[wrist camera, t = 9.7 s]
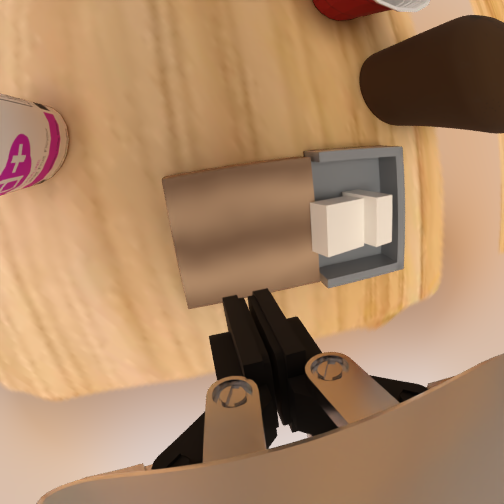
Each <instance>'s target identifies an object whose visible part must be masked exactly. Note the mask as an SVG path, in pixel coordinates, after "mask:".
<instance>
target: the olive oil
mask: <svg viewBox="0 0 504 504" xmlns="http://www.w3.org/2000/svg"><path fill="white" fill-rule="evenodd" d="M360 86H361V91H362V95H363V97H364V100H365V102H366V104H367V105H368V107H369V108H370V110H371V111H372V112H373V113H374V114H375V115H376V116H377V117H378V118H379V119H381V120H382V121H384V122H386V123H388V124H392V125H400V126H432V127H445V128H456V129H465V130H473V131H481V132H488V133H504V23H503V22H501V21H499V20H497V19H495V18H491V17H487V16H479V15H467V16H462V17H459V18H456V19H454V20H451V21H449V22H446V23H444V24H441V25H439V26H437V27H434V28H432V29H430V30H427V31H425V32H423V33H420V34H418V35H415V36H413V37H411V38H409V39H406V40H404V41H402V42H400V43H397V44H395V45H393V46H390V47H388V48H386V49H384V50H381V51H379V52H377V53H375V54H373V55H371V56H370V57H369V58H368V59H367V60H366V61H365V63H364V64H363V67H362V69H361V74H360Z"/></svg>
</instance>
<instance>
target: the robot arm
mask: <svg viewBox="0 0 504 504" xmlns="http://www.w3.org/2000/svg"><path fill="white" fill-rule="evenodd" d="M222 300H223V306H224V311H225V316H226V321H227V326H228V331H229V332H226V333H221V334H216V335H211V336H209V339H210V345H211V350H212V355H213V361H214V366H215V371H216V376H217V381H216V382H215V383H214V384H212V385H211V387H210V388H209V389H208V391H207V395H206V409H205V412H204V413H203V414H202V415H201V416H200V417H199V418H198V419H197V420H196V421H195V422H194V423H193V424H192V425H191V426H190V427H189V428H188V429H187V430H186V431H185V432H183V434H181V435H180V436H179V437H178V438H177V439H176V440H175V441H174V442H173V443H172V444H171V445H170V446H169V447H168V448H167V449H165V450H164V451H163V452H162V453H161V454H160V455H159V456H158V457H157V459H156V460H155V461H154V463H153V464H152V465H148V466H144V465H143V463H142V464H139V465H135V466H131V467H128V468H124V469H120V470H116V471H112V472H108V473H103V474H98V475H94V476H89V477H85V478H83V479H80V480H77V481H74V482H71V483H68V484H65V485H62V486H59V487H57V488H55V489H53V490H51V491H49V492H47V493H46V494H45V495H44V496H42V497H41V498H40V500H39V501H38V502H37V503H36V504H504V354H501V355H498V356H495V357H493V358H490V359H489V360H486V361H484V362H481V363H479V364H477V365H476V366H474V367H472V368H470V369H468V370H466V371H464V372H462V373H461V374H458V375H456V376H453V377H450V378H446V379H443V380H439V381H436V382H432V383H428V386H427V387H424V386H422V385H419V384H414V383H409V382H402V381H397V380H392V379H386V378H381V377H376V376H371V375H368V374H367V373H366V372H365V371H364V370H363V369H362V368H361V367H360V366H358V365H357V364H356V363H355V362H354V361H353V360H352V359H351V358H349V357H348V356H346V355H344V354H341V353H336V352H326V353H322V352H321V350H320V349H319V348H318V346H317V344H316V343H315V342H314V340H313V339H312V337H311V336H310V334H309V333H308V331H307V330H306V328H305V327H304V325H303V324H302V322H301V321H300V319H299V318H298V317H292V318H288V319H286V317H285V316H284V314H283V313H282V311H281V309H280V308H279V306H278V304H277V303H276V301H275V299H274V298H273V296H272V295H271V293H270V291H269V290H268V288H266V289H261V290H256V291H253V292H252V295H251V296H248V304H249V309H248V307H247V304H246V302H245V300H244V297H242V298H238V296H237V295H232V296H228V297H223V298H222ZM249 310H250V311H249ZM277 411H278V414H279V416H280V419H281V421H282V424H283V425H288V424H289V426H290V428H291V431H292V432H296V431H301V432H304V433H307V437H308V438H306V439H303V440H300V441H296V442H293V443H289V444H286V445H282V446H278V447H275V448H271V449H269V446H270V445H271V443H272V442H273V441H274V439H275V438H276V437H277V430H276V428H277V427H279V423H278V415H277Z"/></svg>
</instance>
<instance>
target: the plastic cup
mask: <svg viewBox="0 0 504 504" xmlns="http://www.w3.org/2000/svg"><path fill="white" fill-rule="evenodd" d="M429 2H430V0H313V3H314V5H315V7H316V8H317V9H318V10H319V11H320V12H321V13H322V14H324V15H325V16H327V17H328V18H331V19H334V20H338V21H340V20H351V19H354V18H357V17H360V16H367V15H370V14H374V13H379V12H383V11H387V10H395V11H399V12H417V11H419V10H421V9H423V8H424V7H426V6H428V5H429Z"/></svg>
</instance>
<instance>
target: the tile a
mask: <svg viewBox="0 0 504 504" xmlns="http://www.w3.org/2000/svg"><path fill="white" fill-rule="evenodd" d="M310 214H311V232H312V251H313V252H316V253H318V254H321V255H323V256H326V257H331V256H334V255H337V254H340V253H344V252H347V251H350V250H353V249H356V248H359V247H362V246H364V198H358V197H352V196H342V197H337V198H331V199H326V200H320V201H315V202H310Z"/></svg>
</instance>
